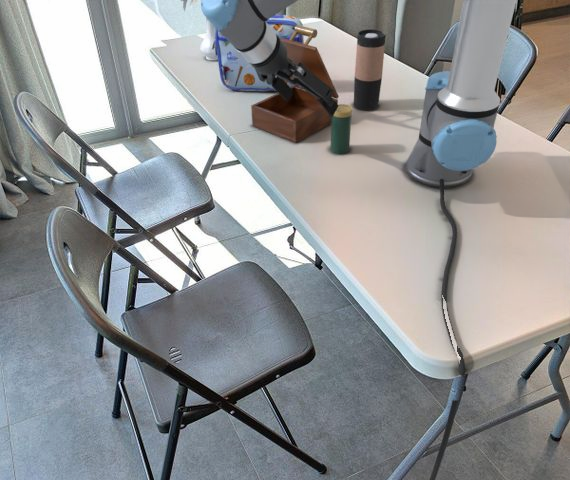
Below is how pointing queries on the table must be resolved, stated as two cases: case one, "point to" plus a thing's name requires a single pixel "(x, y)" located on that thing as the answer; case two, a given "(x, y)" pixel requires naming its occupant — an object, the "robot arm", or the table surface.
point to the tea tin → (341, 129)
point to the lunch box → (240, 71)
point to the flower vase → (206, 37)
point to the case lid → (308, 55)
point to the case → (290, 115)
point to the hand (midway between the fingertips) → (311, 103)
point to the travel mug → (368, 69)
